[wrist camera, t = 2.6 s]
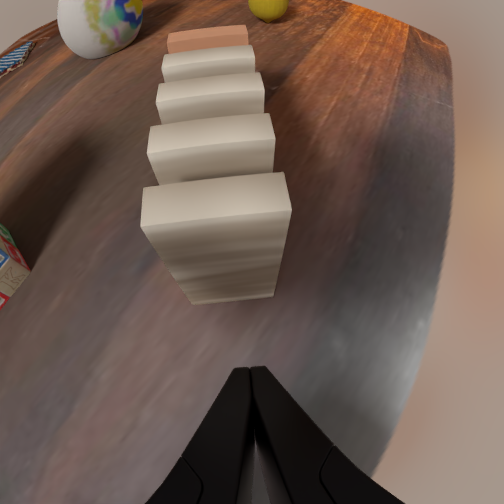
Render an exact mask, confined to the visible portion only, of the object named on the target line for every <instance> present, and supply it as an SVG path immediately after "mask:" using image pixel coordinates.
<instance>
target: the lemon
mask: <svg viewBox="0 0 504 504" xmlns="http://www.w3.org/2000/svg"><path fill="white" fill-rule="evenodd" d="M248 3H249V7H250V10H251V11H252V13H253V14H254V15H255V16H256V17H258V18H260V19H263V20H264V21H265V22H266V23H270V22H271V21H272V20H275V19H278V18H280V17H281V16H282V15H283V14H284V13H285V12H286V10H287V7H288V3H289V0H248Z"/></svg>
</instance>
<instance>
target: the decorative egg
mask: <svg viewBox="0 0 504 504" xmlns="http://www.w3.org/2000/svg"><path fill="white" fill-rule="evenodd" d="M57 15H58V26H59V30H60V33H61V36H62V38H63V40H64V42H65V43H66V45H67V46H68V47H69V48H70V49H71V50H72V51H73V52H74V53H76V54H77V55H79V56H81V57H83V58H86V59H97V58H101V57H105V56H108V55H111V54H113V53H115V52H118V51H119V50H121V49H123V48H125V47H126V46H128V45H129V44H130V43H132V41H133V40H134V39H135V38H136V36H137V34H138V32H139V30H140V27H141V24H142V19H143V4H142V0H59V4H58V13H57Z"/></svg>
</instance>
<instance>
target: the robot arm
mask: <svg viewBox="0 0 504 504" xmlns="http://www.w3.org/2000/svg"><path fill="white" fill-rule="evenodd" d="M254 430H255V432H254ZM255 440H256V446H257V451H258V455H259V459H260V463H261V467H262V471H263V475H264V479H265V483H266V487H267V491H268V495H269V499H270V503H271V504H405V503H403V502H402V501H401V500H399V499H398V498H396V497H395V496H394V495H392V494H391V493H390V492H388V491H387V490H385V489H384V488H383V487H381V486H380V485H379V484H377V483H376V482H375V481H373V480H372V479H371V478H370V477H368V476H367V475H366V474H365V473H363V472H362V471H361V470H360V469H359V468H357V467H356V466H355V465H354V464H353V463H352V462H351V461H350V460H349V459H348V458H347V457H346V456H345V455H344V454H343V453H342V452H341V451H340V450H339V449H338V447H337V446H334V443H333V442H332V441H331V440H330V439H329V438H328V437H327V436H326V435H325V434H324V433H323V431H322V430H321V429H320V428H319V427H318V426H317V425H316V424H315V423H314V421H313V420H312V419H311V418H310V417H309V416H308V415H307V414H306V413H305V411H304V410H303V409H302V408H301V407H300V406H299V405H298V403H297V402H296V401H295V400H294V399H293V398H292V397H291V395H290V394H289V393H288V392H287V391H286V390H285V388H284V387H283V386H282V385H281V384H280V383H279V381H278V380H277V379H276V378H275V377H274V375H273V374H272V373H271V372H270V371H269V370H268V368H267V367H266V366H255V367H251V368H250V369H249V368H248V367H239V368H234V369H233V370H232V372H231V374H230V376H229V377H228V379H227V381H226V382H225V384H224V386H223V388H222V389H221V391H220V393H219V394H218V396H217V398H216V399H215V401H214V403H213V404H212V406H211V408H210V409H209V411H208V413H207V414H206V416H205V418H204V419H203V421H202V423H201V424H200V426H199V428H198V429H197V431H196V432H195V434H194V436H193V437H192V439H191V441H190V442H189V444H188V445H187V447H186V449H185V450H184V452H183V453H182V457H180V458H179V459H178V461H177V463H176V464H175V466H174V467H173V469H172V470H171V472H170V473H169V475H168V476H167V477H166V479H165V480H164V482H163V483H162V484H161V485H160V487H159V488H158V489H157V490H156V491H155V493H154V494H153V495H152V496H151V497H150V499H149V500H148V501H147V502H146V503H145V504H251V500H252V485H253V470H254V455H255Z"/></svg>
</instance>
